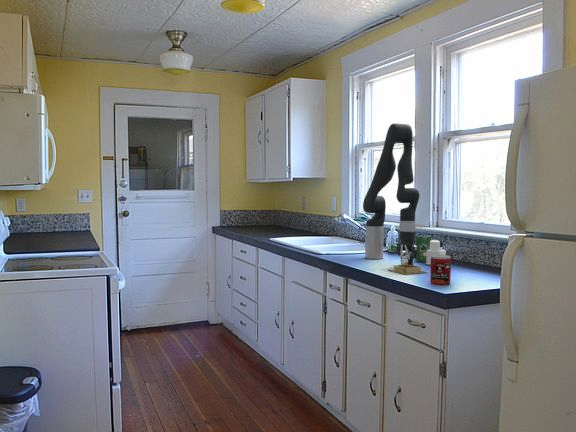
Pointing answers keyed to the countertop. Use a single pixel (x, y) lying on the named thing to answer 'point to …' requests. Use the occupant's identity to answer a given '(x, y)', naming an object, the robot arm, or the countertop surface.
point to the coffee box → (422, 247)
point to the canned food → (440, 269)
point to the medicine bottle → (434, 250)
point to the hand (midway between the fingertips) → (406, 265)
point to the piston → (405, 259)
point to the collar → (407, 269)
